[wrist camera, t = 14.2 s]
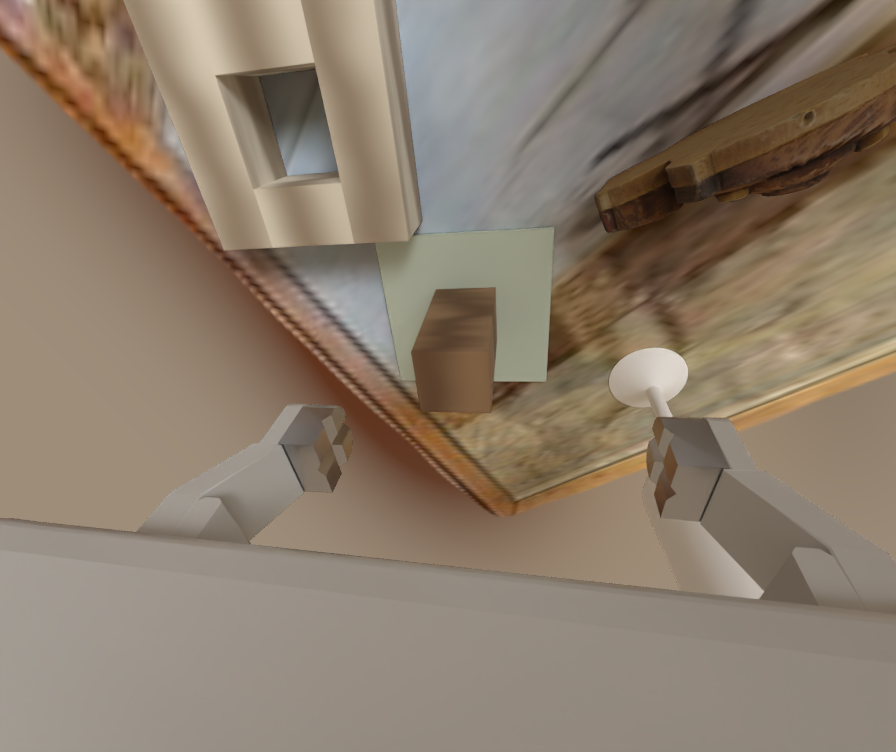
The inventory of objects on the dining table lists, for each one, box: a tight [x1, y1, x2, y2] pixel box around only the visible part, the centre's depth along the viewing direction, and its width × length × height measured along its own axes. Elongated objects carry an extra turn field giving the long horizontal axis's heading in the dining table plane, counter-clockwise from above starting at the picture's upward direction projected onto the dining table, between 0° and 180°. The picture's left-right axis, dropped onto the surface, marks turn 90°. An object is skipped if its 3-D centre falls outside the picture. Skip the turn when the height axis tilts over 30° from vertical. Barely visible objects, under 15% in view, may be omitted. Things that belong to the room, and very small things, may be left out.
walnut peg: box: [411, 287, 497, 413], centre depth 32 cm, size 5×5×10 cm
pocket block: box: [124, 0, 422, 250], centre depth 27 cm, size 14×14×5 cm
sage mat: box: [375, 227, 554, 382], centre depth 36 cm, size 14×14×1 cm
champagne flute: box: [609, 348, 764, 599], centre depth 28 cm, size 7×7×24 cm
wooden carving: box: [594, 44, 896, 232], centre depth 23 cm, size 16×5×10 cm, turn 124°
